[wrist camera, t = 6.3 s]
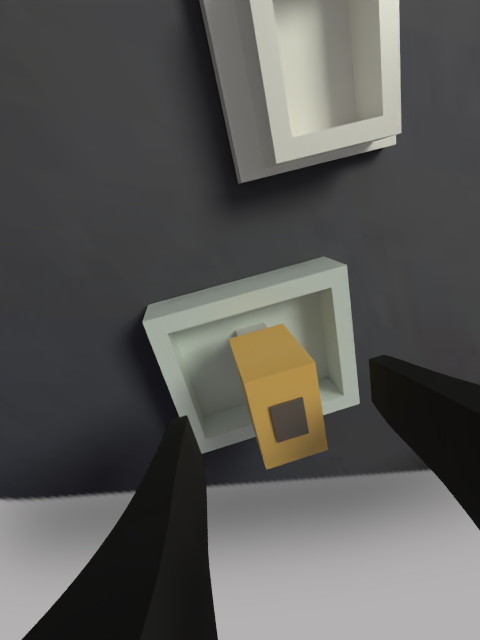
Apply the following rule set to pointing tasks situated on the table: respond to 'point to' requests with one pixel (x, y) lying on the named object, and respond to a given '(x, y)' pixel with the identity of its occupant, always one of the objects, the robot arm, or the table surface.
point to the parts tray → (242, 311)
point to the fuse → (279, 393)
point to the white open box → (304, 79)
